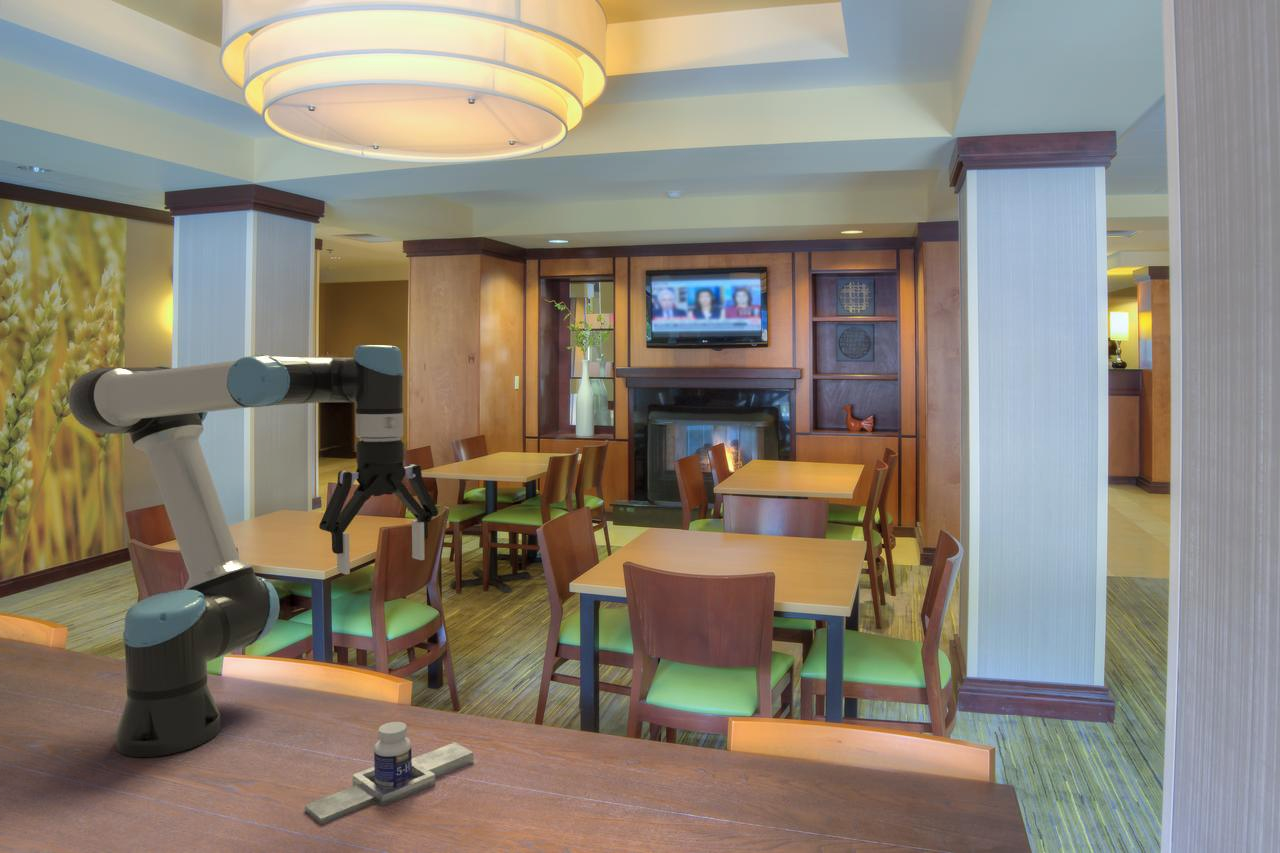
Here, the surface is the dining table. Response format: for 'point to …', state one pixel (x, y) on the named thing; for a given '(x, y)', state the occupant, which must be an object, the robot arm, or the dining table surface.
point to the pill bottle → (392, 756)
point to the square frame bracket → (369, 793)
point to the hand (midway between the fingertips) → (382, 565)
